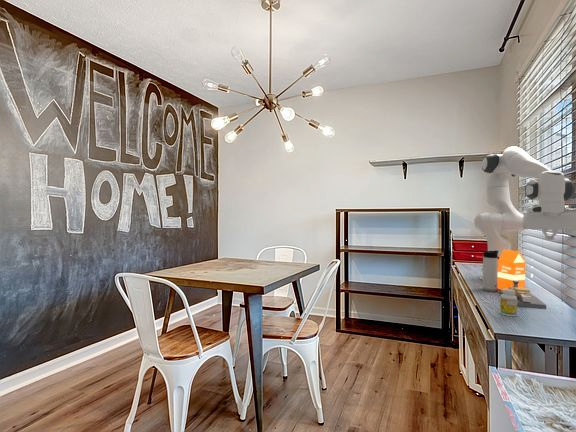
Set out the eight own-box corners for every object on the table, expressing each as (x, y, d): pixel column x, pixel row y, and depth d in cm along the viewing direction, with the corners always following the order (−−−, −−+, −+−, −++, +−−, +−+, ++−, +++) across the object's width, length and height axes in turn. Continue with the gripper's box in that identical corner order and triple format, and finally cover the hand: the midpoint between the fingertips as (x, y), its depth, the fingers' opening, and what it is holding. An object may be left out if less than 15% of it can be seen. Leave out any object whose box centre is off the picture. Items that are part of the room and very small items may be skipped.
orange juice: (508, 287, 175) (509, 249, 175) (525, 291, 167) (526, 251, 166) (497, 288, 173) (497, 249, 172) (512, 292, 164) (513, 251, 164)
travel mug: (499, 292, 165) (500, 251, 165) (485, 291, 166) (486, 251, 166) (494, 289, 171) (495, 250, 171) (480, 288, 172) (481, 249, 172)
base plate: (499, 292, 164) (499, 289, 164) (529, 295, 159) (529, 292, 159) (512, 305, 142) (512, 301, 142) (546, 308, 138) (546, 305, 138)
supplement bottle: (518, 317, 126) (519, 292, 126) (501, 315, 128) (502, 290, 128) (514, 313, 131) (515, 288, 131) (498, 311, 133) (499, 287, 133)
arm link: (508, 290, 161) (509, 279, 161) (519, 291, 159) (520, 280, 159) (520, 301, 142) (521, 289, 141) (533, 303, 140) (533, 290, 140)
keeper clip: (508, 295, 152) (508, 286, 152) (526, 297, 150) (527, 288, 150) (510, 298, 148) (510, 288, 148) (529, 299, 146) (529, 290, 146)
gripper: (577, 208, 145) (576, 240, 146) (521, 207, 153) (520, 237, 154) (584, 208, 140) (582, 242, 140) (525, 208, 147) (524, 239, 148)
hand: (549, 239), depth 147 cm, fingers closed
